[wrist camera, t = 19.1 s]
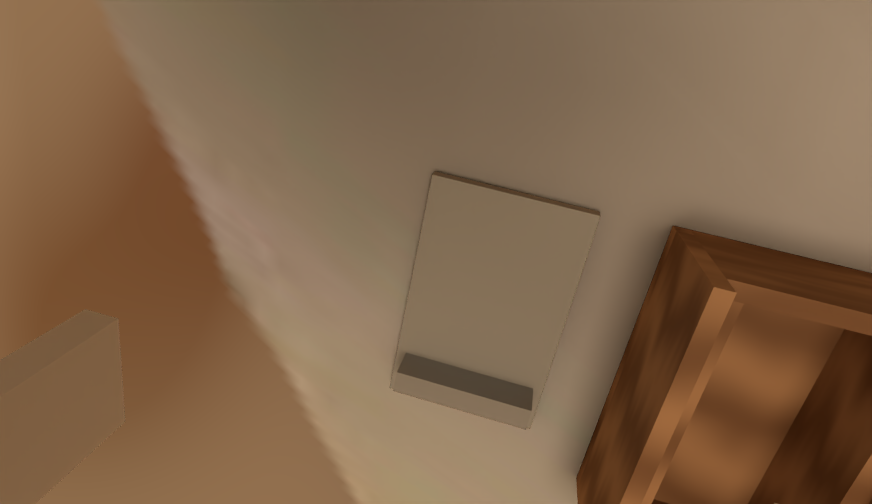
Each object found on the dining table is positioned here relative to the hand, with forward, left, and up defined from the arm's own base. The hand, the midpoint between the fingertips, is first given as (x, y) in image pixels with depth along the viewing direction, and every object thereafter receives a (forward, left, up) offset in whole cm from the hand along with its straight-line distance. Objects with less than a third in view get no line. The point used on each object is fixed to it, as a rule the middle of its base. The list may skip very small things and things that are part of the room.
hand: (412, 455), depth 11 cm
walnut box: (+10, +17, -25) cm, 32 cm away
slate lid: (+9, +1, -25) cm, 27 cm away
